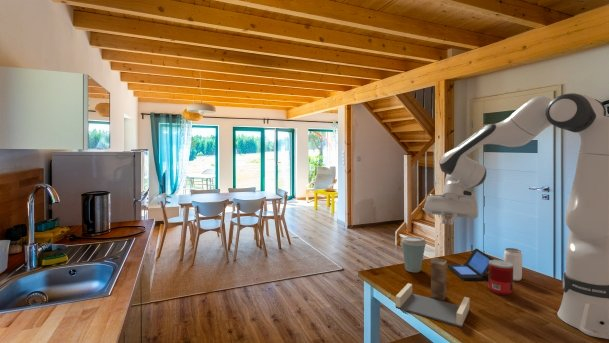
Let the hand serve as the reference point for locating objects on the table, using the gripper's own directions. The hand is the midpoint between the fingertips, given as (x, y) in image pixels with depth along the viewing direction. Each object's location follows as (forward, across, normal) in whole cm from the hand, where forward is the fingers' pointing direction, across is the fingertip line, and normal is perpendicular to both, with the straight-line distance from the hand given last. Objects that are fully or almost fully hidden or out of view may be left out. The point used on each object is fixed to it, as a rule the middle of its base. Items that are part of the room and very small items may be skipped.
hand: (447, 223), depth 124 cm
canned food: (+13, +18, +23) cm, 32 cm away
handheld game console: (+5, +5, +32) cm, 33 cm away
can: (+1, +21, +35) cm, 41 cm away
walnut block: (+27, 0, +9) cm, 28 cm away
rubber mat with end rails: (+34, 0, +2) cm, 34 cm away
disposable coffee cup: (+12, -16, +24) cm, 31 cm away
